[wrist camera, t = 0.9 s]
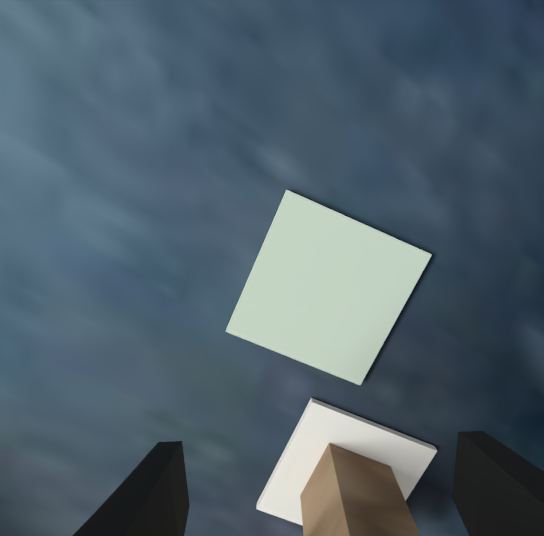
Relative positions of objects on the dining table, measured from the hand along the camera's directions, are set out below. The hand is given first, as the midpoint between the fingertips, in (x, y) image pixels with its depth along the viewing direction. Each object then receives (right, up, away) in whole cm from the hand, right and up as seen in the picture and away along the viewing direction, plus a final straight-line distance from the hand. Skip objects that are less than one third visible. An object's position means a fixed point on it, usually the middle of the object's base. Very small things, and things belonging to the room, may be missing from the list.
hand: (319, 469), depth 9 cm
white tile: (+3, -7, +12) cm, 14 cm away
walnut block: (+3, -7, +11) cm, 14 cm away
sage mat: (+1, +4, +9) cm, 10 cm away
